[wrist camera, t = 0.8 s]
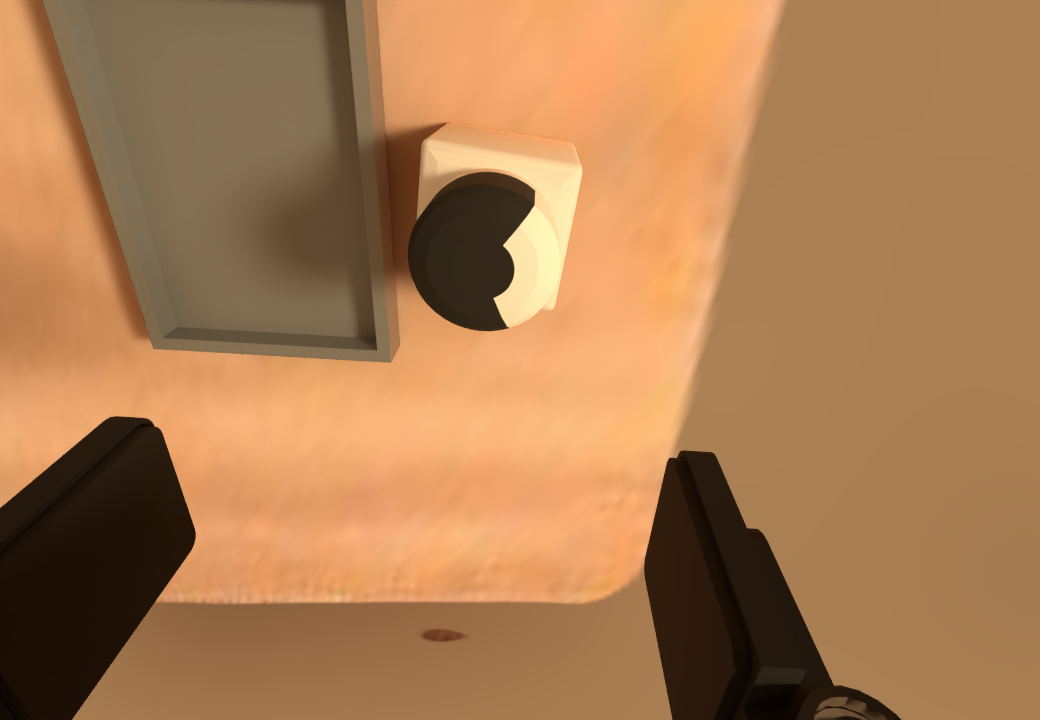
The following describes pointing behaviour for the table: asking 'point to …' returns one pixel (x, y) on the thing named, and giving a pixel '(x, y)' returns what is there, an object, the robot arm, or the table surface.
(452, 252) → the medicine bottle
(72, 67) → the gray tray
